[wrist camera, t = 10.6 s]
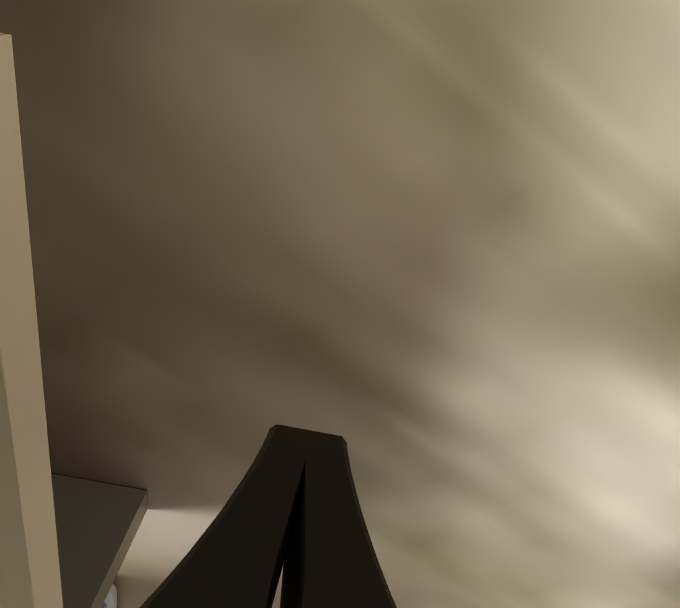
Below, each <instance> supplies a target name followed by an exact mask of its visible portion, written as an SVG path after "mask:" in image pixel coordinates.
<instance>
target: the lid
mask: <svg viewBox="0 0 680 608" xmlns="http://www.w3.org/2000/svg"><path fill="white" fill-rule="evenodd" d="M0 608H63V601H62V589H61V578H60V567H59V556H58V545H57V534H56V523H55V512H54V501H53V490H52V479H51V468H50V457H49V445H48V434H47V423H46V412H45V401H44V390H43V379H42V368H41V357H40V346H39V335H38V324H37V313H36V302H35V290H34V279H33V268H32V257H31V246H30V235H29V224H28V213H27V202H26V191H25V180H24V169H23V158H22V146H21V135H20V124H19V113H18V102H17V91H16V80H15V69H14V58H13V47H12V36H11V35H10V34H5V33H0Z"/></svg>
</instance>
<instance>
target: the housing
mask: <svg viewBox="0 0 680 608" xmlns="http://www.w3.org/2000/svg"><path fill="white" fill-rule="evenodd" d="M51 479H52V490H53V501H54V512H55V523H56V534H57V545H58V556H59V567H60V578H61V589H62V601H63V608H102V605H103V603H104V601H105V599H106V597H107V595H108V593H109V590H110V588H111V586H112V584H113V582H114V580H115V577H116V575H117V573H118V571H119V569H120V567H121V565H122V562H123V560H124V558H125V556H126V554H127V552H128V549H129V547H130V545H131V543H132V541H133V539H134V537H135V534H136V532H137V530H138V528H139V526H140V524H141V521H142V519H143V517H144V515H145V513H146V511H147V490H141V489H136V488H130V487H124V486H119V485H113V484H107V483H102V482H96V481H91V480H85V479H79V478H74V477H68V476H62V475H57V474H51Z"/></svg>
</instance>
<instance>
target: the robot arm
mask: <svg viewBox="0 0 680 608" xmlns="http://www.w3.org/2000/svg"><path fill="white" fill-rule="evenodd" d="M283 563H284V564H283ZM282 566H283V576H282V589H281V601H280V608H397V607H396V605H395V603H394V600H393V598H392V596H391V593H390V591H389V588H388V585H387V583H386V580H385V578H384V575H383V573H382V570H381V567H380V565H379V562H378V559H377V556H376V554H375V551H374V548H373V545H372V542H371V539H370V536H369V533H368V530H367V527H366V524H365V521H364V517H363V514H362V511H361V508H360V504H359V501H358V497H357V493H356V489H355V485H354V481H353V477H352V473H351V468H350V463H349V457H348V451H347V442H346V441H345V440H344V438H343V437H342V436H337V435H332V434H326V433H321V432H316V431H310V430H305V429H299V428H294V427H288V426H283V425H275V426H273V427H271V428H270V429H269V432H268V434H267V437H266V439H265V441H264V443H263V445H262V447H261V449H260V451H259V453H258V455H257V457H256V458H255V460H254V462H253V463H252V465H251V467H250V468H249V470H248V472H247V473H246V475H245V476H244V478H243V480H242V481H241V482H240V484H239V485H238V487H237V488H236V490H235V491H234V493H233V494H232V496H231V497H230V498H229V500H228V501H227V503H226V504H225V506H224V507H223V509H222V510H221V511H220V513H219V514H218V515H217V517H216V518H215V519H214V521H213V522H212V523H211V524H210V526H209V527H208V528H207V529H206V531H205V532H204V533H203V535H202V536H201V537H200V538H199V540H198V541H197V542H196V543H195V545H194V546H193V547H192V549H191V550H190V551H189V552H188V554H187V555H186V556H185V557H184V558H183V560H182V561H181V562H180V563H179V564H178V565H177V567H176V568H175V569H174V570H173V571H172V572H171V574H170V575H169V576H168V577H167V578H166V579H165V580H164V582H163V583H162V584H161V585H160V586H159V587H158V588H157V589H156V590H155V591H154V593H153V594H152V595H151V596H150V597H149V598H148V599H147V600H146V601H145V602H144V603H143V605H142V606H141V607H140V608H272V604H273V601H274V597H275V593H276V589H277V585H278V582H279V578H280V574H281V570H282ZM102 608H117V590H116V587H115V586H114V584H112V586H111V588H110V590H109V593H108V595H107V597H106V599H105V601H104V603H103V605H102Z"/></svg>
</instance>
